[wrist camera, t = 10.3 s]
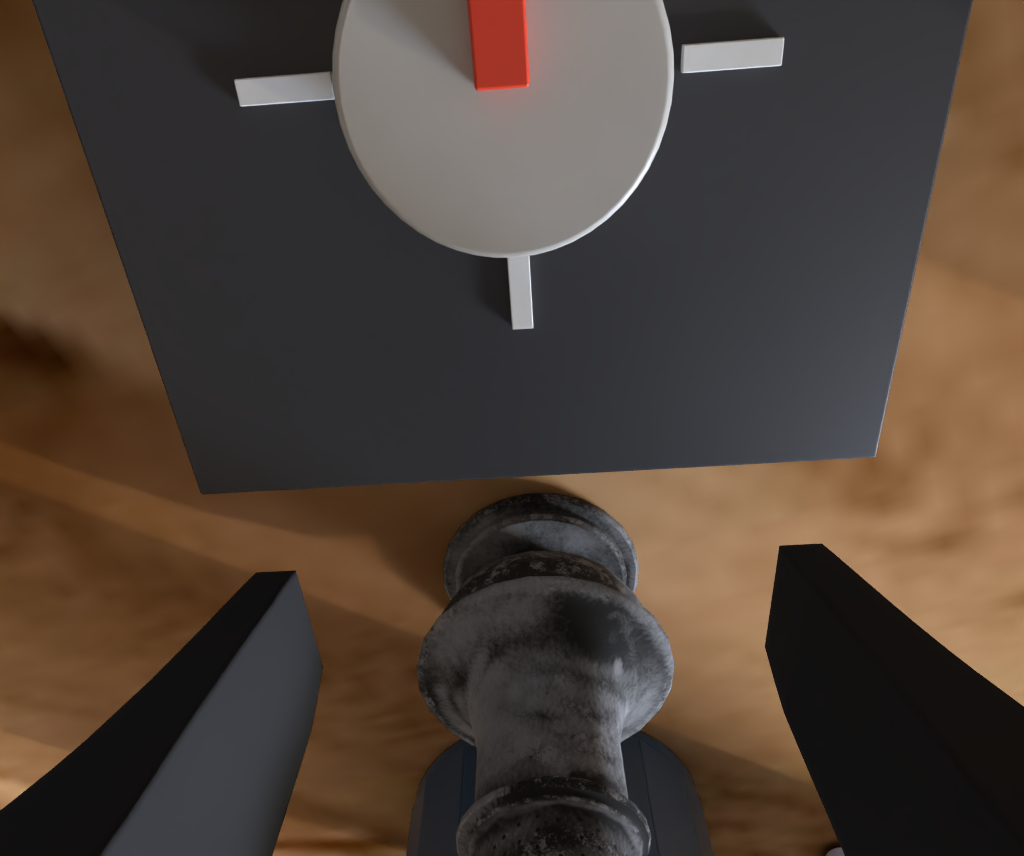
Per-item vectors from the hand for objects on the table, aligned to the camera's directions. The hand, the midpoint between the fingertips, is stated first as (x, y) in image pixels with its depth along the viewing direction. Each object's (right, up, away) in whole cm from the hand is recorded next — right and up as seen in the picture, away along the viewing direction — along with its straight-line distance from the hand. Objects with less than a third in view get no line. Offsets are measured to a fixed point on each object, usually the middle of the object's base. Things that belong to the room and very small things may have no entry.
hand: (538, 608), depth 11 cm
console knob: (0, +8, -1) cm, 8 cm away
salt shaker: (0, -1, +9) cm, 9 cm away
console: (0, +7, +4) cm, 8 cm away
